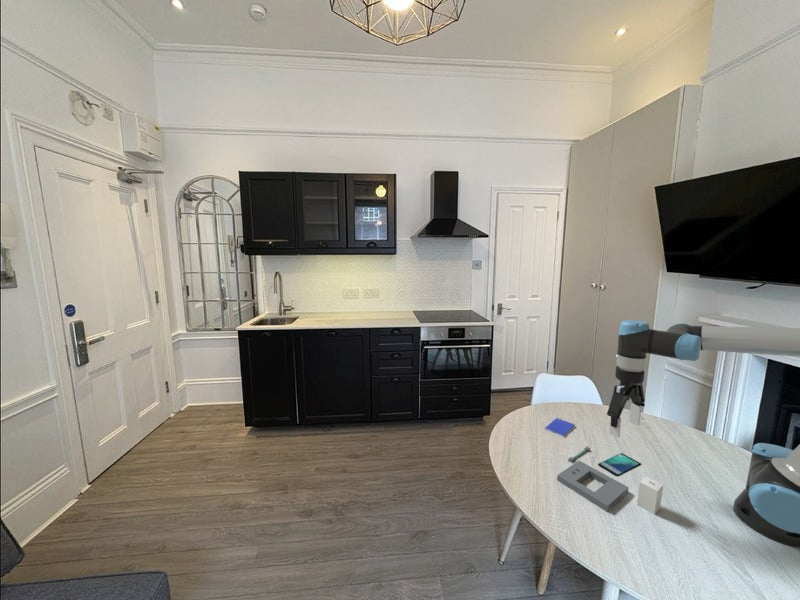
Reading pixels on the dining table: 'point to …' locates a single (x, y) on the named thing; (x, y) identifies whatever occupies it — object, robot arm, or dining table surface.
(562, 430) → the hard drive
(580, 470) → the outlet plate
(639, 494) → the charger
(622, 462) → the smartphone
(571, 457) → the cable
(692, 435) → the dining table surface
